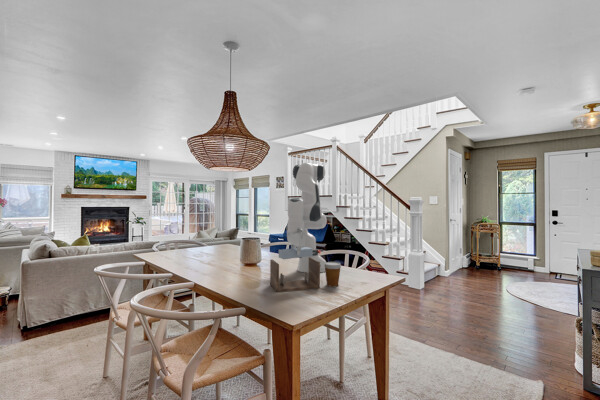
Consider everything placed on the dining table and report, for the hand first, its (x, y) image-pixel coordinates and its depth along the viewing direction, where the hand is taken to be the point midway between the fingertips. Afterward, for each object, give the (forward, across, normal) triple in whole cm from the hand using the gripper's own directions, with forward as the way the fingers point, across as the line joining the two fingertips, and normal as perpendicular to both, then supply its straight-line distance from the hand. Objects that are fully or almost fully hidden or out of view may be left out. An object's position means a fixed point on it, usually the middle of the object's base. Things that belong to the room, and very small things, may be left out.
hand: (295, 253), depth 161 cm
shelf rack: (+18, 0, +1) cm, 18 cm away
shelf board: (+2, 0, 0) cm, 2 cm away
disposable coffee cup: (+19, -4, -20) cm, 28 cm away
